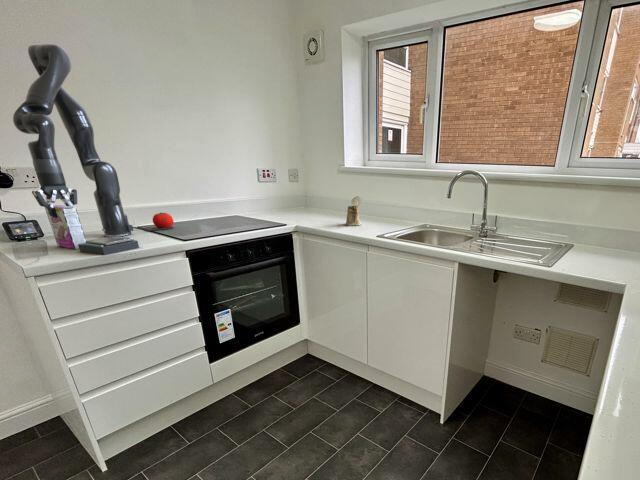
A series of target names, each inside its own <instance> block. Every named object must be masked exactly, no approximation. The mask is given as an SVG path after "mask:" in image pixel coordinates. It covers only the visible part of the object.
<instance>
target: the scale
mask: <svg viewBox="0 0 640 480" xmlns="http://www.w3.org/2000/svg"><path fill="white" fill-rule="evenodd" d="M78 246H79V249H78V250H79V252H80V253H85V254H86V253H87V254H94V255H101V256H107V255H111V254H116V253H120V252H125V251H131V250H135V249H139V248H140V245H139V241H138V240H136V239H134V240H131V241H126V242H121V243H115V244H110V245H101V244H93V243H83V244H78Z"/></svg>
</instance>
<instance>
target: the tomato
mask: <svg viewBox="0 0 640 480" xmlns="http://www.w3.org/2000/svg"><path fill="white" fill-rule="evenodd" d="M152 223H153V225H154V226H155V227H156V229H160V228H168V227H173V225H174V223H175V222H174V218H173V216H172V215H171V214H169V213H167V212H158V213H155V214H154V215H153V216H152Z"/></svg>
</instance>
